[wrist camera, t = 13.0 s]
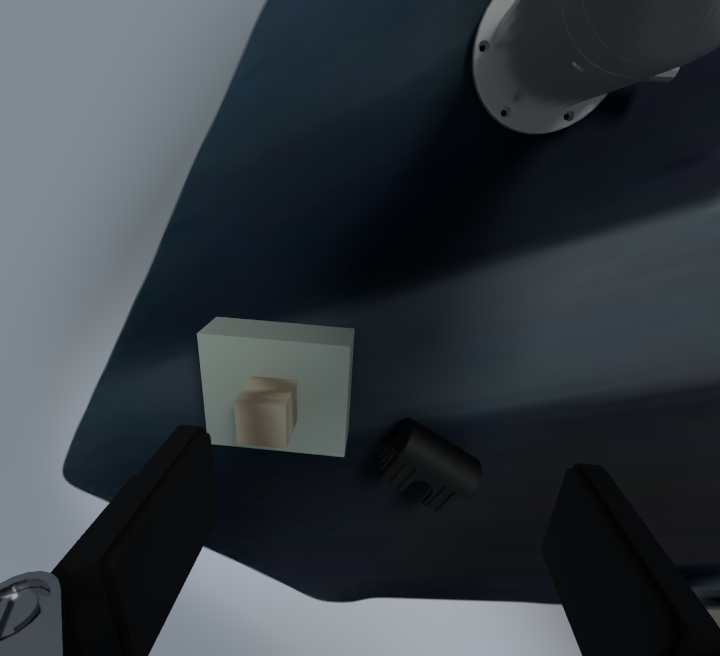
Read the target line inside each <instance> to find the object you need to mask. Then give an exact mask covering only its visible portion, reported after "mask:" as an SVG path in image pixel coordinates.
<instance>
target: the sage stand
mask: <svg viewBox="0 0 720 656" xmlns="http://www.w3.org/2000/svg"><path fill="white" fill-rule="evenodd" d="M354 331H355V328H343V327H331V326H319V325H308V324H296V323H284V322H272V321H260V320H248V319H236V318H224V317H216V318H215V319H214V320H212V321H211V322H210V323H209V324H208V325H206V326H205V327H204V328H203V329H202V330H200V331H199V332H198V333H197V339H198V349H199V359H200V369H201V379H202V389H203V399H204V408H205V418H206V428H207V433H209V434H210V437H211V444H216V445H226V446H236V447H246V448H257V449H267V450H277V451H287V452H297V453H307V454H317V455H328V456H338V457H344V455H345V449H346V443H347V436H348V429H349V413H350V397H351V380H352V364H353V348H354ZM251 376H254V377H267V378H279V379H292V380H297V422H296V425H295V427H294V430H293V433H292V435H291V438H290V441H289V443H288V446H287V449H285V448H274V447H263V446H251V445H240V444H237V435H236V423H235V411H234V400H235V399H236V397H237V396H238V395H239V393H240V392H241V390H242V389H243V387H244V386H245V384H246V383H247V381H248V380H249V378H250V377H251Z"/></svg>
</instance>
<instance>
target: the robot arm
mask: <svg viewBox="0 0 720 656" xmlns="http://www.w3.org/2000/svg"><path fill="white" fill-rule="evenodd" d="M480 46H483V47H484V49H485V50H484V52H480V50H479V47H480ZM719 46H720V0H491V2H490V3H489V5H488V7H487V9H486V10H485V12H484V14H483V16H482V18H481V20H480V23H479V26H478V29H477V32H476V34H475V38H474V44H473V49H472V67H471V69H472V76H473V83H474V86H475V89H476V92H477V95H478V98H479V100H480V101H481V103H482V105H483V107H484V108H485V110H486V111H487V112H488V113H489V114H490V115H491V117H492V118H493V119H494V120H495V121H497V122H498V123H500V124H501V125H503V126H504V127H506V128H508V129H510V130H513V131H515V132H519V133H525V134H545V133H549V132H554V131H557V130H560V129H563V128H566V127H568V126H570V125H572V124H574V123H576V122H577V121H579V120H581V119H582V118H584V117H585V116H586V115H587V114H589V113H590V112H591V111H592V110H594V109H595V108H596V107H597V105H598V104H599V103H600V102H601V101H602V100H603V99H604V98H605V97H606V95H607V94H608V93H609V92H612V91H614V90H617V89H620V88H623V87H625V86H628V85H631V84H634V83H636V82H639V81H642V80H644V81H646V82H664V83H667V82H670V81H671V80H672V79H673V78H674V77H675V75H676V74H677V72H678V70H679V68H680V66H682V65H685V64H687V63H689V62H692V61H694V60H696V59H698V58H700V57H702V56H704V55H706V54H708V53H710V52H711V51H713V50H714V49H716V48H717V47H719ZM503 110H504V111H505V112H506V115H505V116H504V117H503V116H502V115H501V112H502V111H503ZM565 114H566V115H567V119H566V120H564V115H565ZM216 517H217V498H216V487H215V477H214V467H213V456H212V446H211V437H210V434H209V433H205V430H204V428H203V427H199V426H189V425H180V426H178V427H177V428H176V429H175V431H174V432H173V433H172V434H171V435H170V437H169V438H168V439H167V440H166V441H165V443H164V444H163V445H162V446H161V447H160V449H159V450H158V451H157V452H156V453H155V455H154V456H153V457H152V458H151V459H150V461H149V462H148V463H147V464H146V465H145V467H144V468H143V469H142V470H141V471H140V473H138V474H136V475H134V476H133V477H132V478H131V479H130V480H129V481H128V482H127V483H126V484H125V486H124V487H123V488H122V489H121V490H120V491H119V493H118V494H117V495H116V496H115V497H114V499H113V500H112V501H111V502H110V503H109V504H108V506H107V507H106V508H105V509H104V510H103V511H102V513H101V514H100V515H99V516H98V517H97V519H96V520H95V521H94V522H93V523H92V524H91V526H90V527H89V528H88V529H87V530H86V532H85V533H84V534H83V535H82V536H81V538H80V539H79V540H78V541H77V542H76V543H75V545H74V546H73V547H72V548H71V549H70V550H69V552H68V553H67V554H66V555H65V557H64V558H63V559H62V560H61V561H60V562H59V564H58V565H57V566H56V567H55V568H54V569H53V571H52V572H51V573H48V572H43V571H36V572H27V573H24V574H21V575H18V576H15V577H12V578H10V579H8V580H6V581H4V582H2V583H0V656H148V655H149V653H150V651H151V649H152V647H153V645H154V643H155V641H156V639H157V637H158V635H159V633H160V631H161V629H162V627H163V625H164V623H165V621H166V619H167V617H168V615H169V613H170V611H171V609H172V607H173V605H174V603H175V601H176V599H177V597H178V595H179V593H180V591H181V589H182V587H183V585H184V583H185V581H186V579H187V577H188V575H189V573H190V571H191V569H192V567H193V565H194V563H195V561H196V559H197V557H198V555H199V553H200V551H201V549H202V547H203V545H204V543H205V541H206V539H207V537H208V535H209V533H210V531H211V529H212V527H213V525H214V523H215V520H216ZM542 551H543V557H544V560H545V563H546V565H547V568H548V570H549V573H550V575H551V578H552V580H553V583H554V585H555V588H556V590H557V593H558V595H559V598H560V600H561V603H562V606H563V608H564V611H565V613H566V616H567V618H568V621H569V623H570V625H571V628H572V631H573V633H574V636H575V638H576V641H577V643H578V646H579V648H580V651H581V653H582V656H720V628H719V626H718V625H717V623H716V622H715V621H714V619H713V618H712V617H711V615H710V614H709V612H708V611H707V610H706V608H705V607H704V605H703V604H702V603H701V601H700V600H699V598H698V597H697V596H696V594H695V593H694V592H693V590H692V589H691V587H690V586H689V585H688V583H687V582H686V580H685V579H684V578H683V576H682V575H681V574H680V572H679V571H678V569H677V568H676V567H675V565H674V564H673V562H672V561H671V560H670V558H669V557H668V556H667V554H666V553H665V551H664V550H663V549H662V547H661V546H660V544H659V543H658V542H657V540H656V539H655V538H654V536H653V535H652V533H651V532H650V531H649V529H648V528H647V526H646V525H645V524H644V522H643V521H642V519H641V518H640V517H639V515H638V514H637V513H636V511H635V510H634V508H633V507H632V506H631V504H630V503H629V501H628V500H627V499H626V497H625V496H624V495H623V493H622V492H621V490H620V489H619V488H618V486H617V485H616V483H615V482H614V481H613V479H612V478H611V477H610V475H609V474H608V472H607V471H606V470H605V469H604V468H603V467H602V466H600V465H591V464H581V463H577V464H575V465H574V466H573V468H572V469H571V468H570V469H568V470H567V471H566V473H565V476H564V479H563V482H562V485H561V489H560V492H559V495H558V498H557V501H556V504H555V507H554V510H553V513H552V516H551V519H550V522H549V525H548V529H547V532H546V535H545V538H544V541H543V545H542Z"/></svg>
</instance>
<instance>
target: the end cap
mask: <svg viewBox="0 0 720 656" xmlns="http://www.w3.org/2000/svg"><path fill="white" fill-rule="evenodd" d="M383 449H384V451H383V453H382V454H381V456H380V458H381V462H383V463H384V462H385V461H386V459H387V458H388V459H389V460H388V461H387V462H386V463H385V464H384V465H383V466H382V468H381V469H380V477H381V479H382V480H383V481H384V482H385V483H387V484H388V485H390V486H392V487H394V488H395V489H397V490H399V491H401V492H403V491H404V490H405V489H406V488H407V487H408V486H409V484H411V483H412V482H414V481H419V480H421V481H426V482H428V483H429V484H430V485H431V486H432V491H431V493H430V494H429V495H428V496H427V497H426V498H425V499H424V500H423V501H422V504H423V505H425V506H427V507H428V508H430V509H432V510H434V511H435V512H437V513H439V514H443V513H444V512H445V511H446V510H447V509H448V508H449V507H450V506H451V505H452V504H453V503H454V502H455V501H456V500H457V499H459V498H460V497H461V496H462V497H463V498H465V499H467V500H470V499H471V498H472V497H473V496H474V494H475V493H476V491H477V489H478V487H479V484H480V481H481V475H482V468H481V464H480V462H479V460H478V459H477V458H475V457H474V456H472V455H470V454H469V453H467V452H465V451H464V450H462V449H460V448H459V447H457V446H456V445H454V444H452V443H451V442H449V441H447V440H446V439H444V438H442V437H441V436H439V435H438V434H436V433H434V432H433V431H431V430H429V429H428V428H426V427H424V426H423V425H421V424H420V423H418V422H416V421H415V420H413V419H411V418H406V419H404V420H402V421H401V422H400V423H399V424H398V425H397V426H396V429H395V430H394V431H393V433H392V434H391V435H390V436H389V437H388V438H387V440H386V441H385V442H384V443H383Z"/></svg>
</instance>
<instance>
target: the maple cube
mask: <svg viewBox="0 0 720 656" xmlns="http://www.w3.org/2000/svg"><path fill="white" fill-rule="evenodd" d="M234 411H235V423H236V435H237V444H240V445H251V446H263V447H274V448H285V449H287V446H288V443H289V441H290V438H291V435H292V433H293V430H294V427H295V425H296V422H297V380H292V379H279V378H267V377H254V376H251V377H250V378H249V380H248V381H247V383H246V384H245V386H244V387H243V389H242V390H241V392H240V393H239V395H238V396H237V397H236V399H235V400H234Z"/></svg>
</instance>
